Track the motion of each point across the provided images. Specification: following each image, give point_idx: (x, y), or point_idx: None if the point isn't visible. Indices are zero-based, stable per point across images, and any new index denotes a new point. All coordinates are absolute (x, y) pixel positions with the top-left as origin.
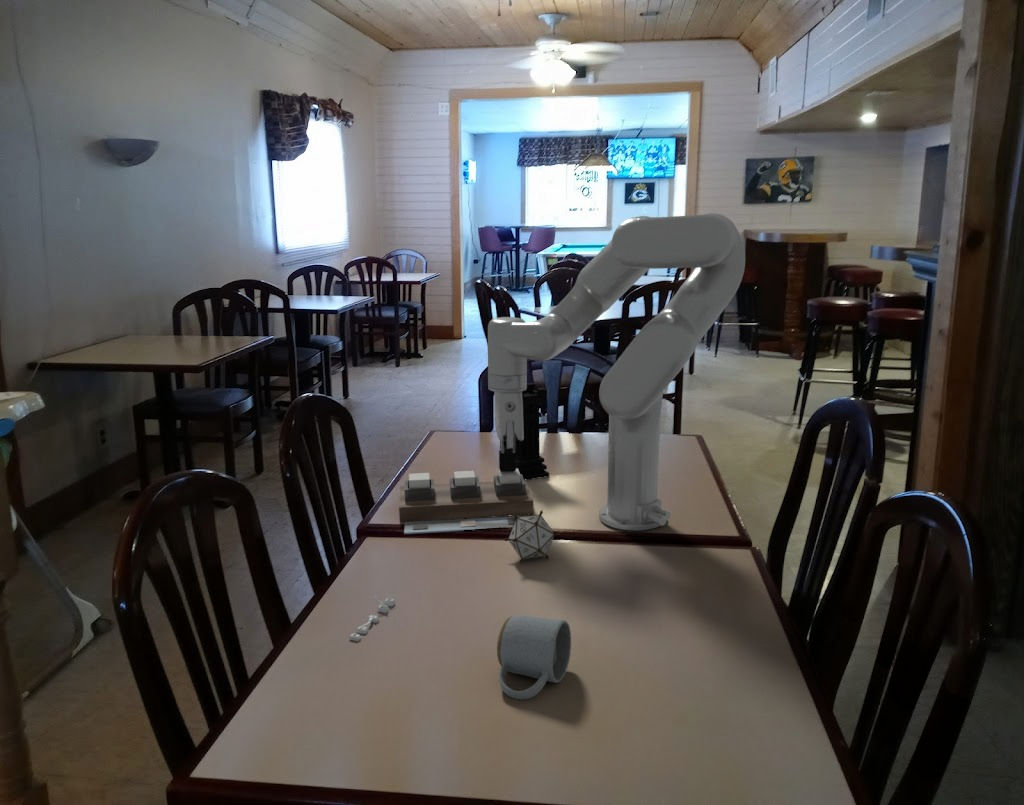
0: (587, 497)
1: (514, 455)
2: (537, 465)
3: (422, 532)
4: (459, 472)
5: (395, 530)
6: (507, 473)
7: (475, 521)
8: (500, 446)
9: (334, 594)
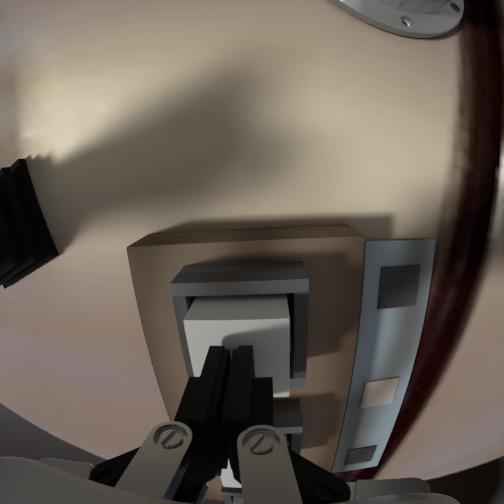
0: (200, 31)
1: (246, 409)
2: (2, 197)
3: (384, 447)
4: (232, 480)
5: (354, 474)
6: (258, 370)
7: (369, 380)
8: (204, 491)
9: (487, 457)
